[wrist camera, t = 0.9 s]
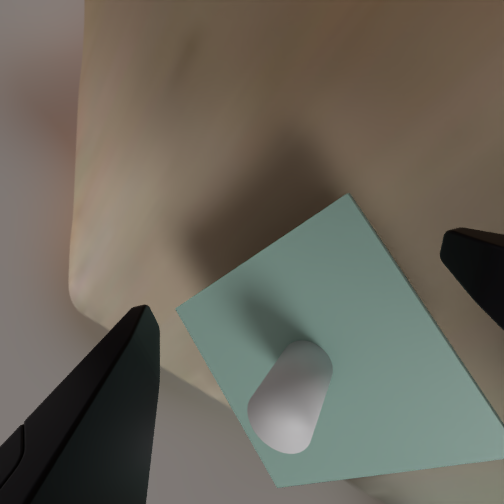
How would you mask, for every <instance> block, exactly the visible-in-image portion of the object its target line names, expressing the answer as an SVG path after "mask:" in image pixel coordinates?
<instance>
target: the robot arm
mask: <svg viewBox="0 0 504 504" xmlns="http://www.w3.org/2000/svg"><path fill="white" fill-rule="evenodd" d="M440 258H441V260H442V262H443V263H444V264H445V266H446V267H447V268H448V269H449V271H450V272H451V273H452V274H453V275H454V277H455V278H456V279H457V280H458V282H459V283H460V284H461V285H462V286H463V288H464V289H465V290H466V291H467V293H468V294H469V295H470V296H471V297H472V298H473V300H474V301H475V302H476V303H477V304H478V305H479V306H480V307H481V308H482V309H483V310H484V311H485V312H486V313H487V314H488V315H489V316H490V317H491V318H492V319H493V320H494V321H495V322H496V323H497V324H498V325H499V326H500V327H501V328H502V329H503V330H504V235H503V234H497V233H491V232H485V231H480V230H474V229H468V228H456V229H452V230H448V231H447V232H446V233H445V234H444V237H443V242H442V246H441V251H440ZM159 382H160V330H159V326H158V323H157V321H156V319H155V317H154V315H153V313H152V311H151V309H150V307H149V306H148V305H141V306H136V307H133V308H131V309H130V310H129V311H128V312H127V313H126V315H125V316H124V317H123V318H122V319H121V320H120V321H119V322H118V323H117V324H116V325H115V326H114V327H113V328H112V329H111V330H110V331H109V333H108V334H107V335H106V336H105V337H104V338H103V339H102V340H101V341H100V342H99V343H98V344H97V345H96V346H95V347H94V348H93V349H92V351H91V352H90V353H89V354H88V355H87V356H86V357H85V358H84V359H83V360H82V361H81V362H80V363H79V364H78V365H77V366H76V367H75V368H74V369H73V371H72V372H71V373H70V374H69V375H68V376H67V377H66V378H65V379H64V380H63V381H62V382H61V383H60V384H59V385H58V386H57V387H56V388H55V389H54V391H53V392H52V393H51V394H50V395H49V396H48V397H47V398H46V399H45V400H44V401H43V402H42V403H41V404H40V405H39V406H38V407H37V409H36V410H35V411H34V412H33V413H32V414H31V415H30V416H29V417H28V418H27V419H26V420H25V421H24V424H23V425H20V426H19V427H18V428H17V430H16V431H15V432H14V433H13V434H12V435H11V436H10V437H9V438H8V439H7V440H6V441H5V442H4V443H3V444H2V445H1V446H0V504H146V497H147V489H148V480H149V471H150V463H151V454H152V445H153V436H154V427H155V419H156V410H157V402H158V393H159Z"/></svg>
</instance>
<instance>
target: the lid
mask: <svg viewBox="0 0 504 504" xmlns="http://www.w3.org/2000/svg"><path fill="white" fill-rule="evenodd" d="M175 309H176V311H177V313H178V314H179V316H180V318H181V320H182V321H183V323H184V325H185V327H186V328H187V330H188V332H189V334H190V336H191V337H192V339H193V341H194V343H195V344H196V346H197V348H198V350H199V351H200V353H201V355H202V357H203V358H204V360H205V362H206V364H207V365H208V367H209V369H210V371H211V372H212V374H213V376H214V378H215V379H216V381H217V383H218V385H219V386H220V388H221V390H222V392H223V394H224V395H225V397H226V399H227V401H228V402H229V404H230V406H231V408H232V409H233V411H234V413H235V415H236V416H237V418H238V420H239V422H240V423H241V425H242V427H243V429H244V430H245V432H246V434H247V436H248V437H249V439H250V441H251V443H252V444H253V446H254V448H255V450H256V451H257V453H258V455H259V457H260V458H261V460H262V462H263V464H264V466H265V467H266V469H267V471H268V473H269V474H270V476H271V478H272V480H273V481H274V483H275V485H276V487H277V488H281V487H289V486H296V485H304V484H312V483H320V482H328V481H336V480H344V479H351V478H359V477H367V476H375V475H382V474H390V473H398V472H406V471H414V470H421V469H429V468H437V467H445V466H453V465H460V464H468V463H476V462H484V461H491V460H499V459H504V424H503V422H502V421H501V419H500V418H499V416H498V415H497V413H496V412H495V410H494V409H493V407H492V406H491V404H490V403H489V401H488V400H487V398H486V397H485V395H484V394H483V392H482V391H481V389H480V388H479V386H478V385H477V383H476V382H475V380H474V379H473V377H472V376H471V374H470V373H469V371H468V370H467V368H466V367H465V365H464V364H463V362H462V361H461V359H460V358H459V356H458V355H457V353H456V352H455V350H454V349H453V347H452V346H451V344H450V343H449V341H448V340H447V338H446V337H445V335H444V334H443V332H442V331H441V329H440V328H439V326H438V325H437V323H436V322H435V320H434V319H433V317H432V316H431V314H430V313H429V311H428V310H427V308H426V307H425V305H424V304H423V302H422V301H421V299H420V298H419V296H418V295H417V293H416V292H415V290H414V289H413V287H412V286H411V284H410V283H409V281H408V280H407V278H406V277H405V275H404V274H403V272H402V271H401V269H400V268H399V266H398V265H397V263H396V262H395V260H394V259H393V257H392V256H391V254H390V253H389V251H388V250H387V248H386V247H385V245H384V244H383V242H382V241H381V239H380V238H379V236H378V235H377V233H376V232H375V230H374V229H373V227H372V226H371V224H370V223H369V221H368V220H367V218H366V217H365V215H364V214H363V212H362V211H361V209H360V208H359V206H358V205H357V203H356V202H355V200H354V199H353V197H352V196H351V194H350V193H347V194H346V195H344V196H343V197H341V198H340V199H338V200H337V201H335V202H334V203H332V204H331V205H329V206H328V207H326V208H325V209H323V210H322V211H320V212H319V213H317V214H316V215H314V216H313V217H311V218H310V219H308V220H307V221H305V222H304V223H302V224H301V225H299V226H298V227H296V228H295V229H293V230H292V231H290V232H289V233H287V234H286V235H284V236H283V237H281V238H280V239H278V240H277V241H275V242H274V243H272V244H271V245H269V246H268V247H266V248H265V249H263V250H262V251H260V252H259V253H257V254H256V255H254V256H253V257H252V258H250V259H249V260H247V261H246V262H244V263H243V264H241V265H240V266H238V267H237V268H235V269H234V270H232V271H231V272H229V273H228V274H226V275H225V276H223V277H222V278H220V279H219V280H217V281H216V282H214V283H213V284H211V285H210V286H208V287H207V288H205V289H204V290H202V291H201V292H199V293H198V294H196V295H195V296H193V297H192V298H190V299H189V300H187V301H186V302H184V303H183V304H181V305H180V306H178V307H177V308H175Z"/></svg>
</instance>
